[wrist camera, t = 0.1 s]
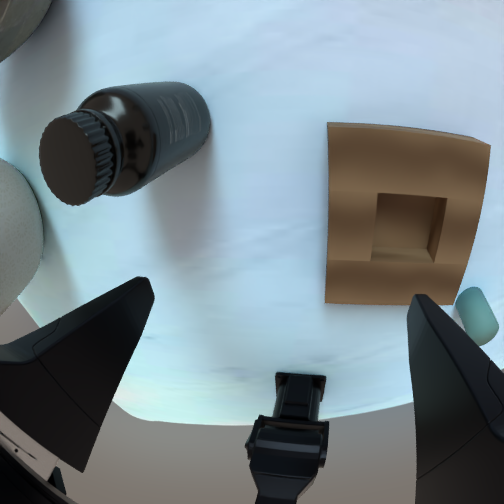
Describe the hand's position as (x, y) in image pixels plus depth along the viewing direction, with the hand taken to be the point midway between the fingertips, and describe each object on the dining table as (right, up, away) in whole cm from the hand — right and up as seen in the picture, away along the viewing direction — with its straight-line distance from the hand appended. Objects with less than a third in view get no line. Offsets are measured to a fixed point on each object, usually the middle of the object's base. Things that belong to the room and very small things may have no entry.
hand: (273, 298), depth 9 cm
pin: (+22, -4, +14) cm, 26 cm away
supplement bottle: (-7, +12, +12) cm, 19 cm away
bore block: (+11, +5, +12) cm, 17 cm away
